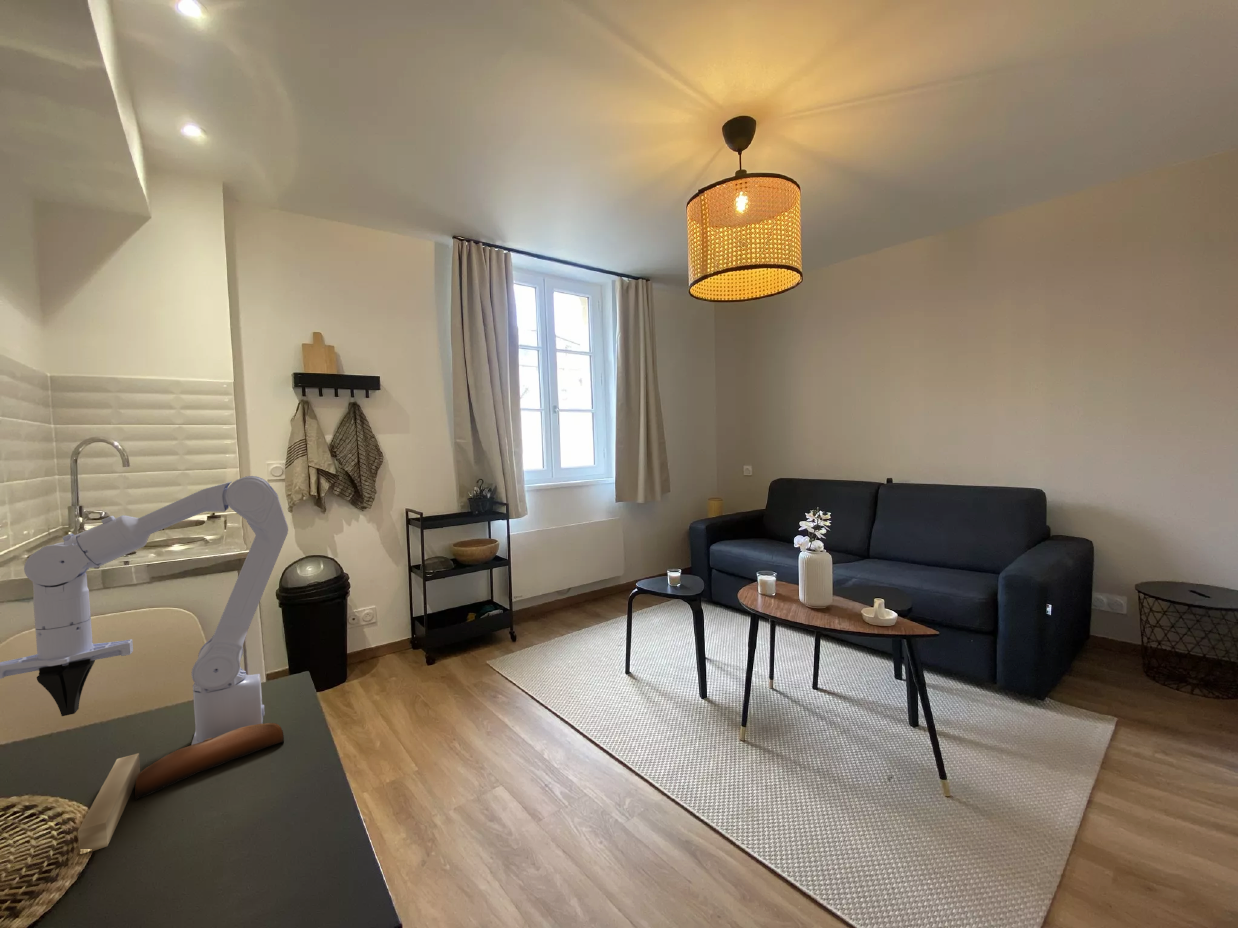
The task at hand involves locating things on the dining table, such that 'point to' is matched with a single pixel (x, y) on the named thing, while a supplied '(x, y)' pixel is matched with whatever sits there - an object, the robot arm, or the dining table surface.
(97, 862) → the dining table surface
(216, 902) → the dining table surface
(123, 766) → the bar
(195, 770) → the sunglasses case
